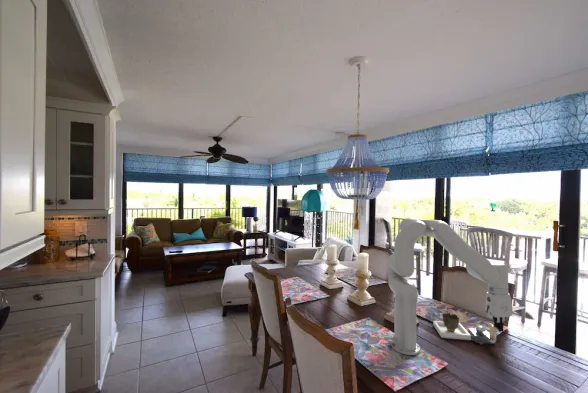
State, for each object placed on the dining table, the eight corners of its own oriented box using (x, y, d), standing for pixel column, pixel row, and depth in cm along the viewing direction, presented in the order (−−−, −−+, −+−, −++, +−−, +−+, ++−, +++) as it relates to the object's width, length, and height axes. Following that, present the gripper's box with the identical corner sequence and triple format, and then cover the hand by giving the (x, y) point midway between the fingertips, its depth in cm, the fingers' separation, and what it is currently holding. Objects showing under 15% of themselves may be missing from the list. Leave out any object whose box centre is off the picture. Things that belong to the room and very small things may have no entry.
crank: (474, 329, 133) (474, 313, 133) (482, 329, 132) (482, 314, 132) (492, 346, 117) (492, 328, 117) (502, 347, 117) (502, 329, 117)
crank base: (475, 342, 127) (475, 335, 127) (468, 333, 135) (468, 327, 135) (494, 344, 126) (494, 337, 126) (485, 335, 133) (485, 329, 133)
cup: (461, 335, 132) (461, 319, 132) (445, 334, 134) (445, 318, 134) (455, 328, 140) (455, 313, 140) (440, 327, 141) (440, 312, 141)
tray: (441, 337, 132) (441, 332, 132) (433, 325, 144) (433, 320, 144) (470, 340, 129) (470, 335, 129) (459, 327, 142) (459, 322, 142)
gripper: (490, 294, 116) (491, 335, 116) (520, 291, 118) (520, 332, 118) (476, 288, 124) (477, 327, 124) (504, 286, 126) (505, 324, 126)
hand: (498, 330), depth 121 cm, fingers closed
